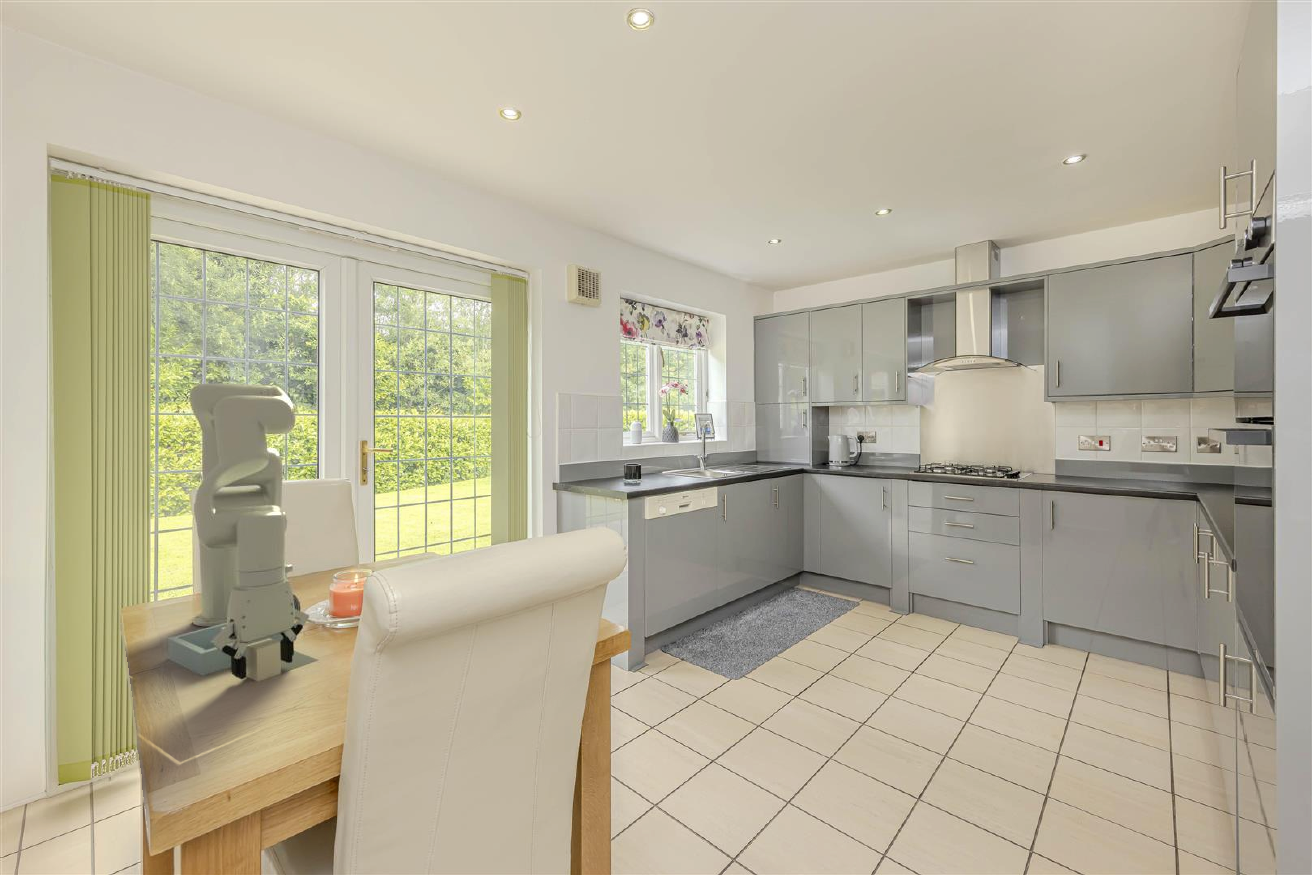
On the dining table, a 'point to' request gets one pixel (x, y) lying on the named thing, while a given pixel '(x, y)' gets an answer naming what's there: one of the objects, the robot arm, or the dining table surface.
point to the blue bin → (203, 650)
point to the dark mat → (293, 662)
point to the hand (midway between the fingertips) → (263, 668)
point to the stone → (263, 659)
